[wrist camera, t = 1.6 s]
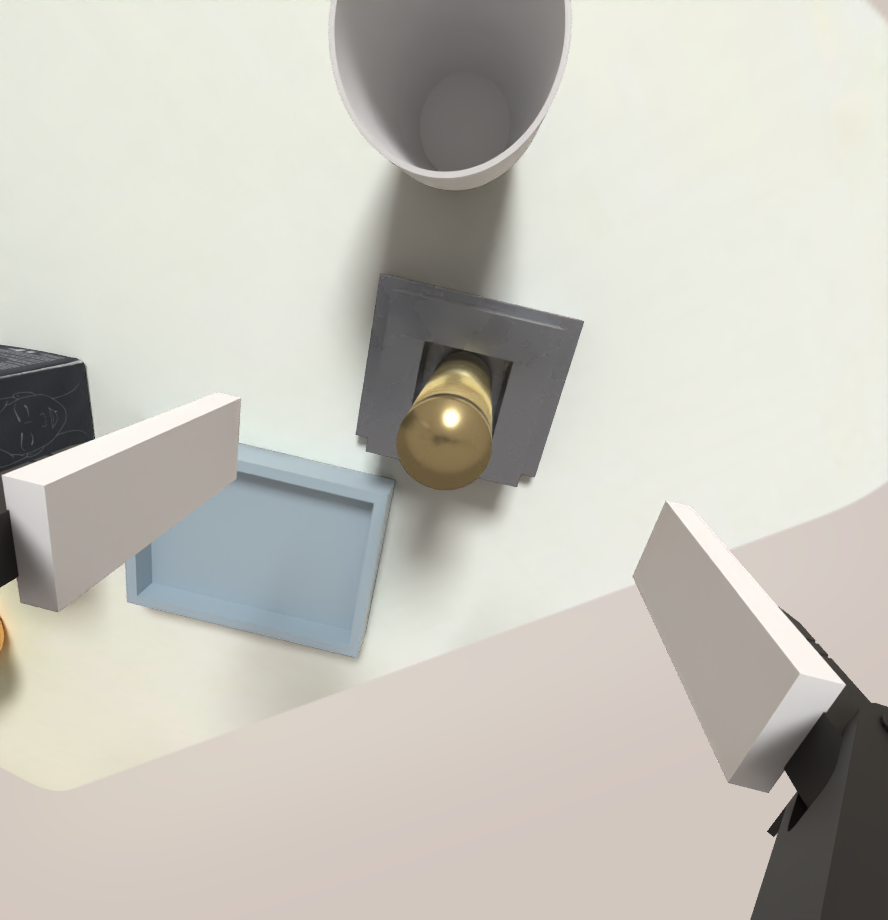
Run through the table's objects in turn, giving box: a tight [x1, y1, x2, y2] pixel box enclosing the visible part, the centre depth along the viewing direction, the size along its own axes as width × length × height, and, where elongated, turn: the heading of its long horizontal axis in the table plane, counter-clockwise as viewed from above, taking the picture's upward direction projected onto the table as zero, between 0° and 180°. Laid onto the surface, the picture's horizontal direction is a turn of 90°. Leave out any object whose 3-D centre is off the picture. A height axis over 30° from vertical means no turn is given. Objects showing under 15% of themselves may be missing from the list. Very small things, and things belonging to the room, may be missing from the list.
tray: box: [125, 443, 395, 658], centre depth 34 cm, size 18×14×2 cm
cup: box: [329, 0, 572, 190], centre depth 20 cm, size 8×8×10 cm
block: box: [356, 274, 584, 487], centre depth 28 cm, size 12×10×4 cm
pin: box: [396, 352, 492, 490], centre depth 23 cm, size 4×4×12 cm
